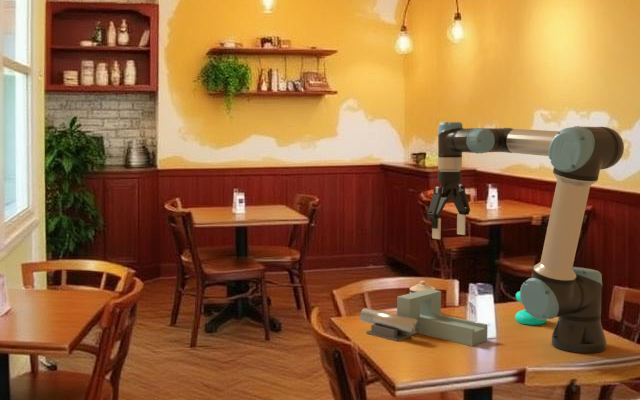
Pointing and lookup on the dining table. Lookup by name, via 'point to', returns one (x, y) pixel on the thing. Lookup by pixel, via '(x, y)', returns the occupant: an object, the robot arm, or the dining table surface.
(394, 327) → the dowel
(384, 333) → the cradle
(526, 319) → the donuts
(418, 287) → the teacup with lid
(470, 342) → the shelf
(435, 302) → the grey-green rectangular arch
